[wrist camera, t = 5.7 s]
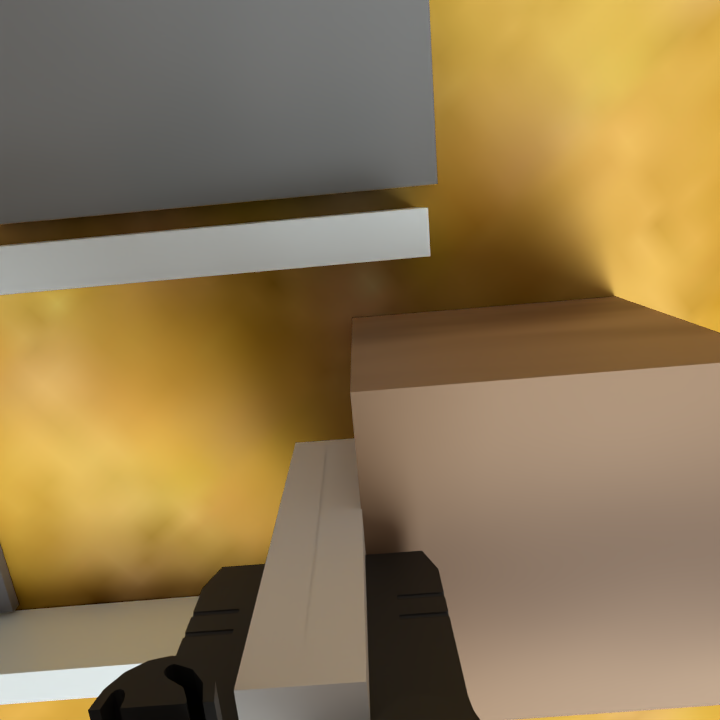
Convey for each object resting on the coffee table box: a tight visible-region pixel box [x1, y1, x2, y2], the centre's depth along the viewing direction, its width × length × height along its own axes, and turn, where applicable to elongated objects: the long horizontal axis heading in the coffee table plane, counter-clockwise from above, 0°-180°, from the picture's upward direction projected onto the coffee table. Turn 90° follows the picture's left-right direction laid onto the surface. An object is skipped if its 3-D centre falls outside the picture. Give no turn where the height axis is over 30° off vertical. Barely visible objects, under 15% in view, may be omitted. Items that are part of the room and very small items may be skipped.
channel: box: [0, 207, 430, 705], centre depth 13 cm, size 12×19×5 cm, turn 95°
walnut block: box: [350, 296, 720, 720], centre depth 13 cm, size 7×7×6 cm
